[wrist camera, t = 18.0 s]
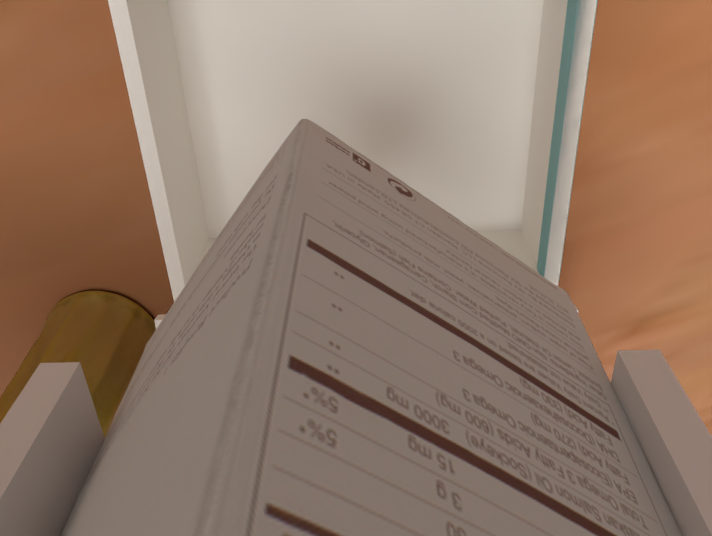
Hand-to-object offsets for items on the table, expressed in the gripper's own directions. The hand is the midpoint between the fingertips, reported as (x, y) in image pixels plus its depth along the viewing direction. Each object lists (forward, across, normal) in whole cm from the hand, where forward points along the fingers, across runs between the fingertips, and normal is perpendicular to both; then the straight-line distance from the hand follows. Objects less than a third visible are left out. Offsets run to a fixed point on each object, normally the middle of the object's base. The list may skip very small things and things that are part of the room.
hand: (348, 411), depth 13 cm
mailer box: (+19, 0, 0) cm, 19 cm away
